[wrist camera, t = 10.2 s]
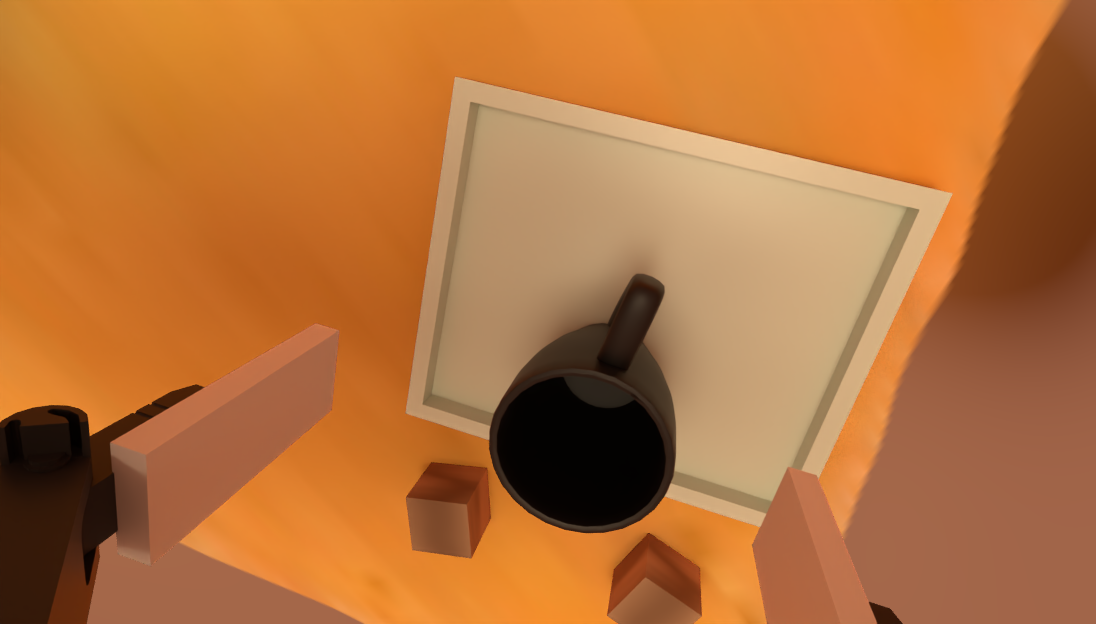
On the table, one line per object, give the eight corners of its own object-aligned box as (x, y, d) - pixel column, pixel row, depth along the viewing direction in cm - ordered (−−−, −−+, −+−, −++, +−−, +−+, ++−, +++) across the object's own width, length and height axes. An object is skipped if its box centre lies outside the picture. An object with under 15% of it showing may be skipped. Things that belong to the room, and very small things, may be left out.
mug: (734, 276, 30) (756, 339, 21) (640, 451, 35) (627, 563, 26) (591, 215, 31) (556, 252, 22) (518, 395, 35) (464, 486, 26)
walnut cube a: (437, 510, 40) (412, 550, 37) (431, 461, 39) (405, 497, 35) (491, 517, 40) (471, 558, 36) (487, 467, 38) (466, 504, 35)
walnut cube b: (614, 568, 39) (607, 615, 35) (648, 531, 37) (645, 577, 33) (662, 602, 39) (660, 652, 35) (699, 566, 37) (701, 615, 33)
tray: (418, 399, 38) (405, 413, 36) (468, 79, 31) (455, 76, 29) (785, 515, 34) (791, 537, 33) (934, 188, 27) (952, 193, 26)
